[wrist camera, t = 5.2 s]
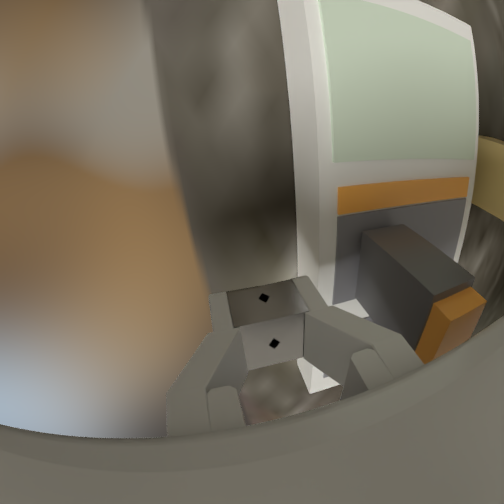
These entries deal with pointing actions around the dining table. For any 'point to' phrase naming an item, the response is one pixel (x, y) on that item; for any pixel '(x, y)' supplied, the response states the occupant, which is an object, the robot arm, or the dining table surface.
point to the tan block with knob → (489, 176)
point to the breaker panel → (376, 134)
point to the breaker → (416, 291)
